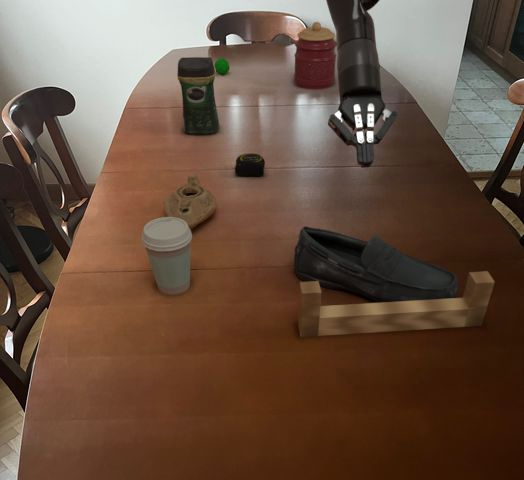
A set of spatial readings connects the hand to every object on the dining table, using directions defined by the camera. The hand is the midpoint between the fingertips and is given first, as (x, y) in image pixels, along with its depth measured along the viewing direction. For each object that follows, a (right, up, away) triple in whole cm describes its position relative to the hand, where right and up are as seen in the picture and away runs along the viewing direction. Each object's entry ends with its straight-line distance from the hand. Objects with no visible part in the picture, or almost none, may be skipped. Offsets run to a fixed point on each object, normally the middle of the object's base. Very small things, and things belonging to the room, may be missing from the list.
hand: (366, 166), depth 107 cm
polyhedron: (-32, +59, +90) cm, 112 cm away
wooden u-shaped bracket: (+2, -29, -9) cm, 31 cm away
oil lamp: (-34, -6, +18) cm, 39 cm away
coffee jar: (-35, +26, +54) cm, 70 cm away
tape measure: (-21, +8, +34) cm, 41 cm away
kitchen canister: (-2, +52, +82) cm, 97 cm away
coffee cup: (-35, -22, 0) cm, 41 cm away
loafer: (+1, -23, -1) cm, 23 cm away
